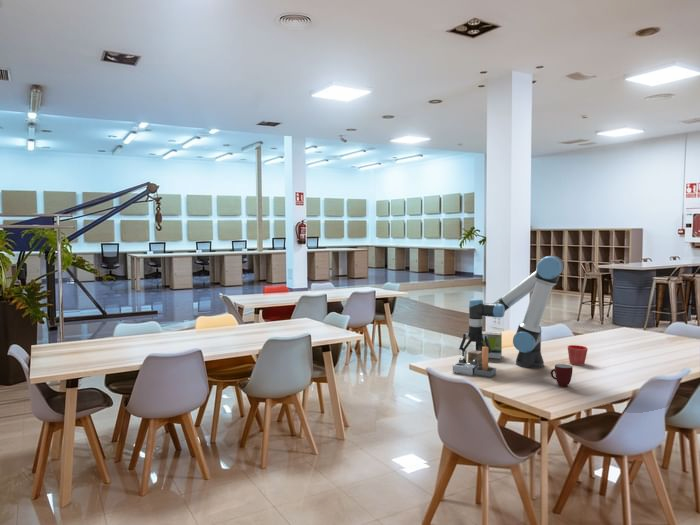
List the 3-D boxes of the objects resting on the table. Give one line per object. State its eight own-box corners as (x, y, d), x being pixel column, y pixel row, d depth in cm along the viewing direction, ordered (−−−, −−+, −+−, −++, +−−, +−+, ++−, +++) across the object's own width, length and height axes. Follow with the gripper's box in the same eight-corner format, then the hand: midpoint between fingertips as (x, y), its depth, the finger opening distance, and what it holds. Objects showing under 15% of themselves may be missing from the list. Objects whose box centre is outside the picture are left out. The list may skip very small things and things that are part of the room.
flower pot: (587, 362, 303) (587, 345, 303) (587, 366, 293) (587, 349, 293) (567, 360, 308) (568, 344, 307) (566, 364, 298) (567, 348, 297)
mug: (546, 385, 257) (547, 365, 256) (553, 381, 263) (553, 362, 262) (568, 389, 250) (569, 368, 249) (574, 385, 256) (575, 365, 255)
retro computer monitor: (501, 355, 320) (502, 331, 319) (500, 359, 311) (501, 334, 310) (476, 353, 325) (477, 330, 324) (475, 357, 315) (475, 333, 315)
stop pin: (488, 373, 277) (489, 347, 276) (487, 374, 274) (487, 348, 274) (482, 372, 279) (483, 346, 278) (481, 373, 276) (481, 347, 275)
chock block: (482, 363, 301) (482, 351, 301) (478, 366, 295) (478, 353, 294) (472, 361, 305) (472, 350, 304) (467, 364, 298) (468, 352, 297)
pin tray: (495, 373, 278) (495, 368, 278) (491, 377, 270) (491, 371, 270) (479, 371, 283) (479, 365, 283) (474, 375, 275) (474, 369, 275)
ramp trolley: (479, 370, 286) (480, 359, 285) (472, 375, 274) (472, 364, 274) (460, 367, 291) (460, 356, 291) (452, 372, 280) (452, 361, 280)
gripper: (497, 326, 296) (497, 364, 297) (458, 323, 308) (457, 359, 309) (494, 328, 289) (493, 367, 290) (453, 324, 301) (453, 362, 302)
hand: (475, 363), depth 300 cm, fingers open, 11 cm apart
